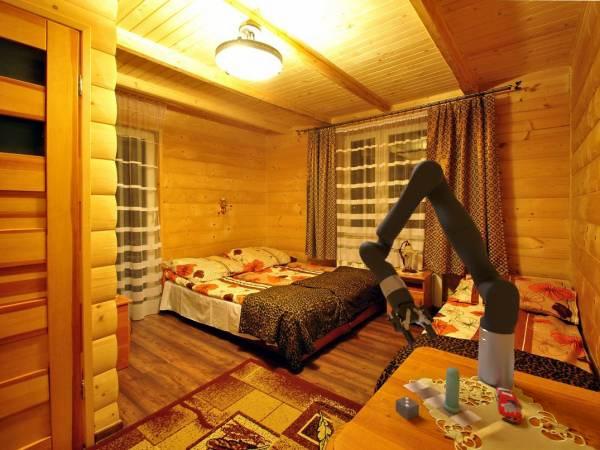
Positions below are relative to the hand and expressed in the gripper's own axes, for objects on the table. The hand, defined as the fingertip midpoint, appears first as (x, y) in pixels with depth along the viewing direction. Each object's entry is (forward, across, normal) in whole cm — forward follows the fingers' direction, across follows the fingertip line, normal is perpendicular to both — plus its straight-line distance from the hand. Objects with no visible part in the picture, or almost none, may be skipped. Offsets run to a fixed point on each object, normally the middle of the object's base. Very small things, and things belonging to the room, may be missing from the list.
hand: (424, 341), depth 89 cm
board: (+15, 0, +7) cm, 17 cm away
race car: (+22, +15, +1) cm, 27 cm away
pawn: (+17, 0, +4) cm, 17 cm away
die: (+15, -12, +7) cm, 21 cm away
